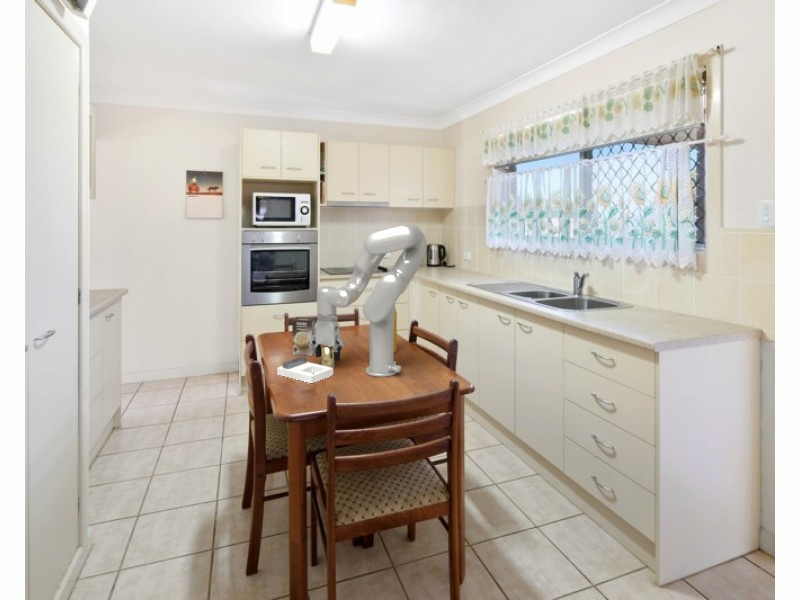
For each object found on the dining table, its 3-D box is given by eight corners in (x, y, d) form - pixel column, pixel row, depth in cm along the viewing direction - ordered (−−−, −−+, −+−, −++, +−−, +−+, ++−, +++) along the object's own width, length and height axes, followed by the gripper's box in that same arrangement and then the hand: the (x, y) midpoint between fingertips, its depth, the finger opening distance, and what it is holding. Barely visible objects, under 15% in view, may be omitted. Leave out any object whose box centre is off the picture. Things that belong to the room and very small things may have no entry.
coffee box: (292, 355, 212) (291, 320, 210) (296, 351, 219) (295, 316, 216) (312, 356, 212) (311, 320, 209) (316, 352, 218) (315, 317, 215)
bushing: (336, 367, 197) (336, 346, 195) (328, 370, 192) (328, 348, 191) (327, 365, 199) (327, 344, 198) (319, 368, 195) (318, 346, 194)
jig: (333, 375, 187) (333, 363, 186) (311, 384, 177) (311, 371, 176) (299, 367, 196) (299, 355, 195) (277, 375, 186) (276, 362, 186)
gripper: (349, 318, 191) (350, 360, 194) (317, 313, 200) (318, 353, 203) (337, 321, 184) (338, 364, 187) (304, 316, 194) (305, 357, 197)
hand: (327, 358), depth 195 cm, fingers open, 9 cm apart
